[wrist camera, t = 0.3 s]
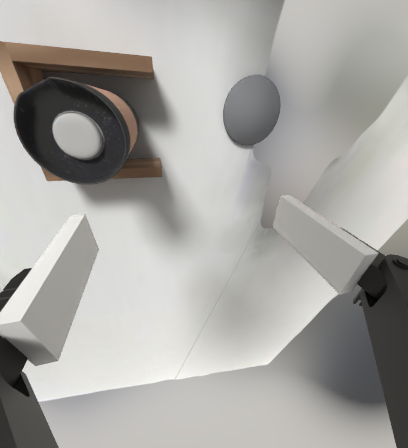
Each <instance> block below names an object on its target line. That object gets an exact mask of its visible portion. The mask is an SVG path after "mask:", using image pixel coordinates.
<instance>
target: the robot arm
mask: <svg viewBox="0 0 408 448" xmlns="http://www.w3.org/2000/svg"><path fill="white" fill-rule="evenodd" d="M273 228H274V229H275V230H276V231H277V232H278V233H279V234H280V235H281V236H282V237H283V238H284V239H285V240H286V241H287V242H288V243H289V244H290V245H291V246H292V247H293V248H294V249H295V250H296V251H297V252H298V253H299V254H300V255H301V256H302V257H303V258H304V259H305V260H306V261H307V262H308V263H309V264H310V265H311V266H312V267H313V268H314V269H315V270H316V271H317V272H318V273H319V274H320V275H321V276H322V277H323V278H324V279H325V280H326V281H327V282H328V283H329V284H330V285H331V286H332V287H333V288H334V289H335V290H336V291H337V292H338V293H339V294H344V293H349V292H352V291H353V289H354V287H355V286H356V285H357V284H358V285H359V286H360V287H362V289H361V290H360V291H359V293H358V294H357V296H356V297H355V298H354V300H353V303H354V304H355V303H356V302H357V301H358V300H361V303H360V304H359V305H360V306H363V311H364V314H365V319H366V323H367V327H368V331H369V335H370V339H371V343H372V347H373V352H374V356H375V360H376V364H377V368H378V372H379V376H380V380H381V384H382V389H383V392H384V397H385V401H386V405H387V409H388V413H389V418H390V421H391V426H392V429H393V434H394V438H395V442H396V446H397V448H408V259H407V258H404V257H401V256H398V255H387V256H385V255H383V254H381V253H380V252H378V251H377V250H375V249H374V248H372V247H371V246H369V245H368V244H366V243H365V242H363V241H361V240H358V238H357V237H355V236H354V235H352V234H351V233H349V232H348V231H346V230H344V229H342V228H340V227H338V226H337V225H335V224H334V223H332V222H330V221H329V220H327V219H326V218H324V217H323V216H321V215H320V214H318V213H317V212H315V211H314V210H312V209H311V208H309V207H308V206H306V205H304V204H303V203H301V202H300V201H298V200H297V199H295V198H294V197H292V196H291V195H283V196H282V195H281V196H280V199H279V203H278V207H277V211H276V215H275V219H274V223H273ZM98 250H99V249H98V246H97V243H96V241H95V238H94V236H93V233H92V230H91V228H90V225H89V223H88V220H87V218H86V215H85V214H81V215H71V216H70V217H69V219H68V220H67V221H66V223H65V224H64V225H63V227H62V228H61V230H60V231H59V232H58V234H57V235H56V236H55V238H54V239H53V241H52V242H51V243H50V245H49V246H48V247H47V249H46V250H45V252H44V253H43V254H42V256H41V257H40V258H39V260H38V261H37V263H36V264H35V265H34V267H33V268H29V269H24V270H23V271H21V272H20V273H19V274H17V275H16V276H15V277H14V278H12V279H11V280H10V282H9V283H8V284H7V285H6V287H5V288H4V289H3V291H2V292H1V293H0V448H58V445H57V443H56V441H55V438H54V436H53V434H52V432H51V430H50V428H49V425H48V423H47V421H46V418H45V416H44V414H43V412H42V410H41V407H40V405H39V403H38V401H37V398H36V396H35V394H34V392H33V390H32V387H31V385H30V383H29V381H28V378H27V376H26V374H25V373H24V372H22V369H23V367H24V365H25V363H26V361H27V359H28V360H29V361H30V362H31V363H32V364H34V365H35V366H38V365H42V364H46V363H50V362H55V361H58V360H59V358H60V355H61V352H62V349H63V347H64V344H65V341H66V338H67V336H68V333H69V330H70V327H71V325H72V322H73V319H74V316H75V314H76V311H77V308H78V305H79V303H80V300H81V297H82V294H83V292H84V289H85V286H86V283H87V281H88V278H89V275H90V272H91V270H92V267H93V264H94V261H95V259H96V256H97V253H98Z"/></svg>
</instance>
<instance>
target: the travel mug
mask: <svg viewBox="0 0 408 448" xmlns="http://www.w3.org/2000/svg"><path fill="white" fill-rule="evenodd" d="M14 123H15V128H16V132H17V135H18V137H19V139H20V141H21V143H22V145H23V147H24V148H25V150H26V151H27V152H28V154H29V155H30V156H31V157H32V158H33V159H34V161H36V162H37V163H38V164H39V165H40V166H41V167H42V168H44V169H45V170H46V171H48V172H49V173H51V174H53V175H55V176H56V177H58V178H61V179H63V180H66V181H69V182H72V183H77V184H97V183H101V182H104V181H107V180H109V179H110V178H112V177H114V176H115V175H116V174H117V173H118V172H119V171H120V170H121V168H122V167H123V165H124V163H125V162H126V160H127V158H128V156H129V154H130V152H131V150H132V148H133V146H134V145H135V142H136V139H137V135H138V131H139V121H138V117H137V114H136V112H135V111H134V109H133V108H132V106H131V105H130V104H129V103H128V102H126V101H125V100H124V99H122V98H120V97H119V96H117V95H115V94H113V93H111V92H109V91H106V90H103V89H100V88H96V87H93V86H90V85H86V84H83V83H80V82H76V81H73V80H69V79H65V78H60V77H48V78H46V79H44V80H42V81H40V82H38V83H36V84H35V85H33V86H31V87H30V88H28V89H27V90H25V91H23V92H21V93H20V94H19V95H18V96H17V98H16V101H15V106H14Z"/></svg>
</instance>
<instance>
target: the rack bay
mask: <svg viewBox="0 0 408 448" xmlns="http://www.w3.org/2000/svg"><path fill="white" fill-rule="evenodd" d="M41 70H43V71H57V72H70V73H83V74H96V75H109V76H123V77H136V78H149V79H153V65H152V57H149V56H139V55H129V54H120V53H110V52H100V51H90V50H80V49H70V48H60V47H50V46H40V45H30V44H20V43H11V42H1V41H0V72H1V74H2V77H3V79H4V81H5V84H6V86H7V88H8V91H9V93H10V95H11V98H12V100H13V102H14V105H15V101H16V98H17V96H18V95H19V94H20V93H21V92H23V91H25V90H27V89H28V88H30V87H31V86H33V85H35V84H36V83H38V82H40V81H42V80H44V78H43V75H42V72H41ZM41 168H42V167H41ZM42 170H43V173H44V175H45V177H46V180H47V181H62V180H63V179H61V178H58V177H56V176H55V175H53V174H51V173H49V172H48V171H46V170H45V169H44V168H42ZM143 177H162V170H161V163H160V158H155V159H127V160H126V162H125V163H124V165H123V167H122V168H121V170H120V171H119V172H118V173H117V174H116V175H115V176H114V177H112V178H110V179H116V178H143Z"/></svg>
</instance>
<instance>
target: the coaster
mask: <svg viewBox="0 0 408 448" xmlns="http://www.w3.org/2000/svg"><path fill="white" fill-rule="evenodd" d="M279 113H280V97H279V93H278V90H277V88H276V86H275V85H274V83H273V82H272V81H271V80H270V79H268V78H267V77H264V76H261V75H252V76H249V77H246V78H244V79H242V80H240V81H239V82H238V83H237V84H236V85H235V86H234V87H233V88H232V89H231V91H230V92H229V94H228V96H227V99H226V101H225V105H224V111H223V119H224V125H225V128H226V131H227V133H228V134H229V136H230V137H231V138H232V139H233V140H234V141H236V142H238V143H240V144H244V145H253V144H256V143H259V142H260V141H262V140H264V139H265V138H266V137H267V136H268V135H269V134H270V133H271V131H272V130H273V128H274V127H275V125H276V123H277V120H278V117H279Z"/></svg>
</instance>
